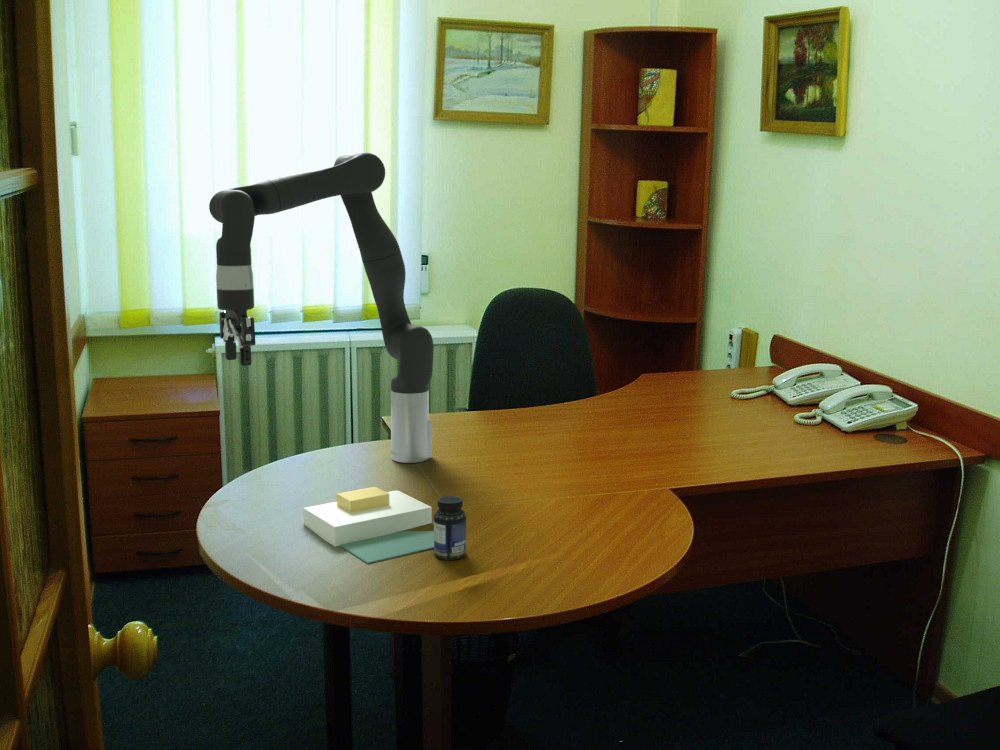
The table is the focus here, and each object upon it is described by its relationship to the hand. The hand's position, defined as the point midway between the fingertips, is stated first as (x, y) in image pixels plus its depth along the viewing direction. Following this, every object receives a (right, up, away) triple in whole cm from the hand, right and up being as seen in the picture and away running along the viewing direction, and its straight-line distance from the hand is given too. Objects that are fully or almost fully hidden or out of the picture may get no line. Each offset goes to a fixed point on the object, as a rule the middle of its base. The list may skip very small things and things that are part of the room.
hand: (238, 362), depth 204 cm
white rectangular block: (+29, -34, -8) cm, 45 cm away
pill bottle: (+46, -37, -23) cm, 64 cm away
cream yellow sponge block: (+28, -29, -7) cm, 41 cm away
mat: (+36, -36, -18) cm, 54 cm away
